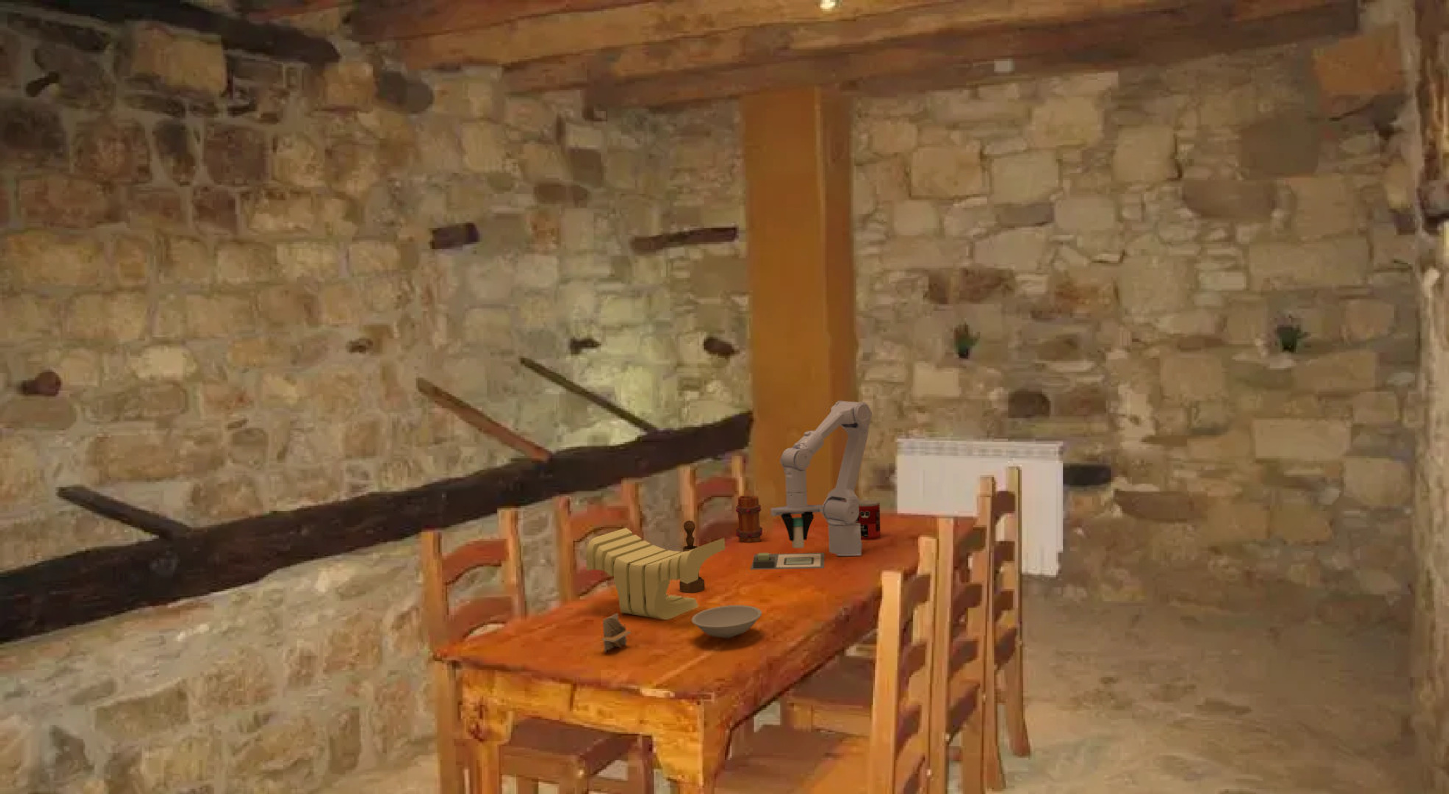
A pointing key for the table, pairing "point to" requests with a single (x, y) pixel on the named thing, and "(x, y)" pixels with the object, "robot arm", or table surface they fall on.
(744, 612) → the dish
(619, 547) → the slatted curved stool
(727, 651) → the table surface
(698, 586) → the brown tall knobbed piece
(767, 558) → the button
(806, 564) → the colouring board
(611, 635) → the architectural model
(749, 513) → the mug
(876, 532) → the canned food
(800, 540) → the marker
